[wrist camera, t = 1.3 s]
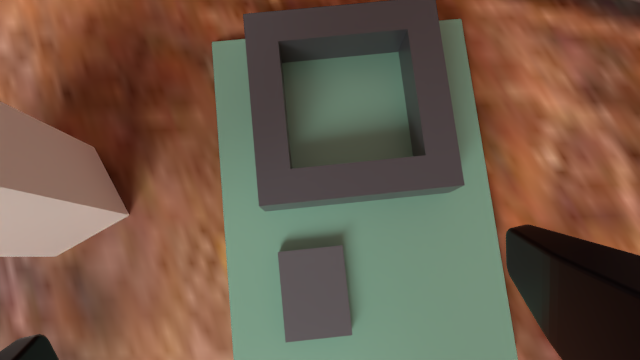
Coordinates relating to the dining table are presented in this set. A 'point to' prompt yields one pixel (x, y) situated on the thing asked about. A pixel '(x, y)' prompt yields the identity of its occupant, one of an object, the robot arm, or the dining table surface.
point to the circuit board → (357, 189)
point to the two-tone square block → (50, 189)
